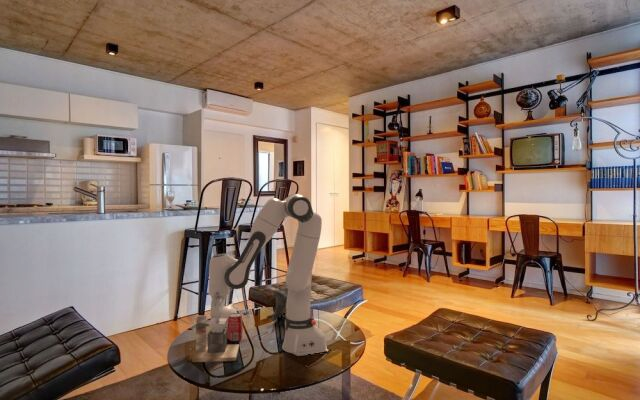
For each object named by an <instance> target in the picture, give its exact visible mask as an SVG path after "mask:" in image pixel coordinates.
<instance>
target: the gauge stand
mask: <svg viewBox="0 0 640 400" xmlns="http://www.w3.org/2000/svg"><path fill="white" fill-rule="evenodd" d="M195 322H196V325H195V327H196V328H195V334H196V335H195V352H194V354H193V356H192V358H191V362H192V363H207V362H236V361H237V359H238V358H237V357H238V353H239V349H240V344H237V343H236V344H235V343H234V344H232V343H230V344H229V343H228V330H227V328H224V333H221V334H212V328H210V330H209V332H208V333H207V327H201V329H198V327H197V324H207V314H206V315H196V321H195ZM207 334H208V335H207ZM207 336H208V337H207ZM206 341H207V343H206Z"/></svg>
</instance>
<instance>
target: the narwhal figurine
mask: <svg viewBox="0 0 640 400" xmlns="http://www.w3.org/2000/svg"><path fill="white" fill-rule="evenodd" d="M267 289H268V290H270V291H271V293H273V295H272V296H271V297H270V299H268V302H270V301H272V300H273V299H275V303H276V304H275V305H276V307H275V311H274V312H272V313H271V314H269V315H267V316H266V319H267V318H270V319H271V320H272V321H274V320H276V319H279V318H278V316H279V315H280V314H281V313H282V314H283V313H285V314H286V312H287V295H288V287H285V286H281V287H279V289H278V290H274V289H272V288H267Z"/></svg>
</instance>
